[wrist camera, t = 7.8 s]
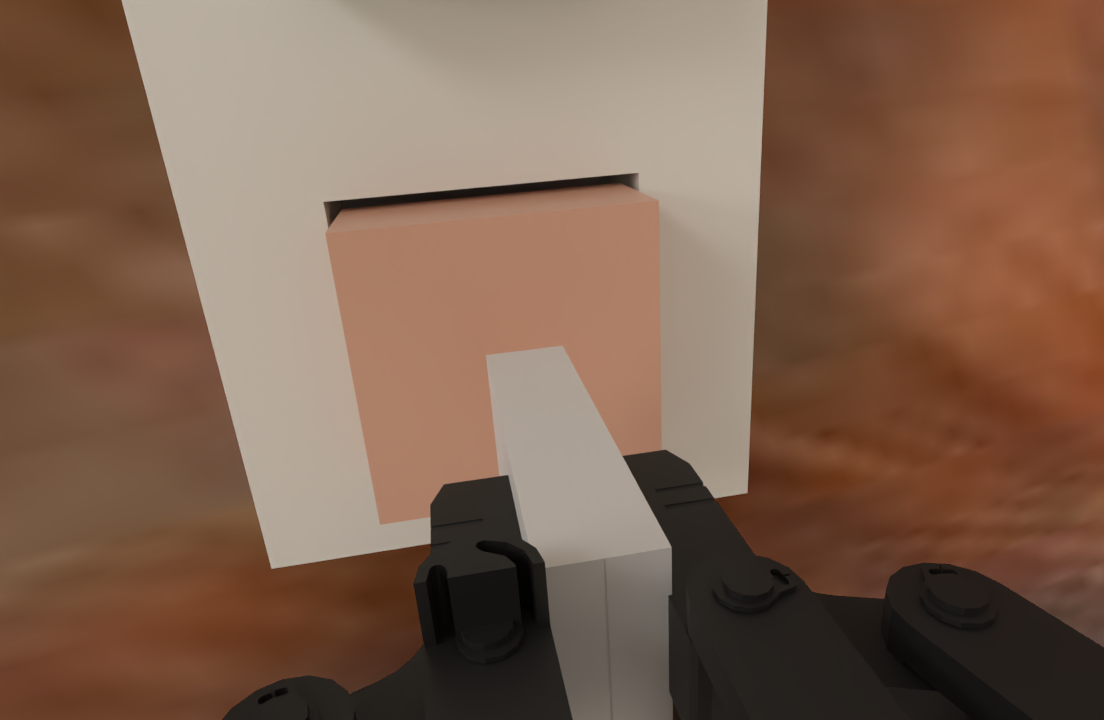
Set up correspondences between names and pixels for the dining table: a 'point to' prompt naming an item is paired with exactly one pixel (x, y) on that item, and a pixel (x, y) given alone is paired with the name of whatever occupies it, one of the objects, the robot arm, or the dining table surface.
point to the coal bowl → (675, 713)
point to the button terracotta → (492, 322)
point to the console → (446, 173)
